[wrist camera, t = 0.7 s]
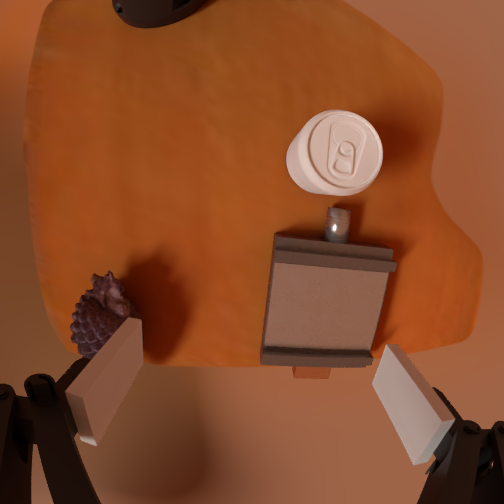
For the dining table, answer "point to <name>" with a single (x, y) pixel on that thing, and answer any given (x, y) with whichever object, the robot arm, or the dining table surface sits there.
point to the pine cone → (100, 314)
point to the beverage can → (335, 154)
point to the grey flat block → (324, 299)
